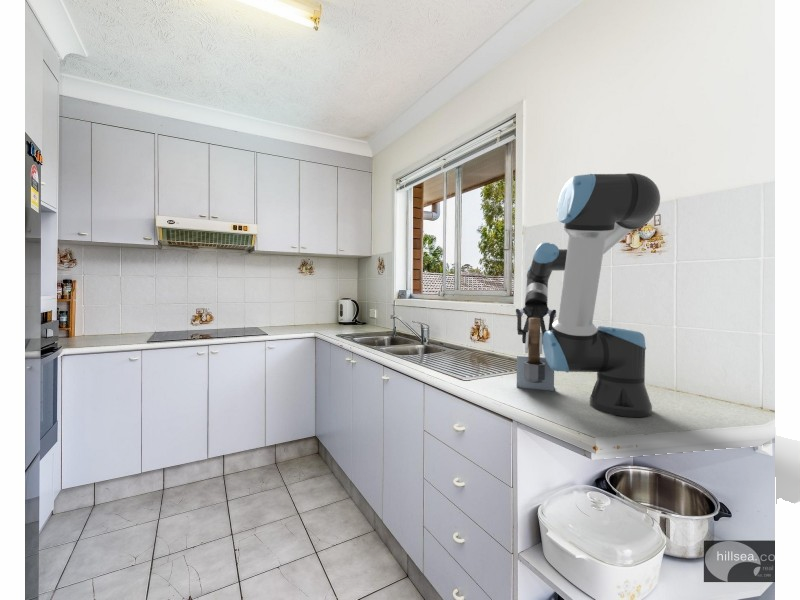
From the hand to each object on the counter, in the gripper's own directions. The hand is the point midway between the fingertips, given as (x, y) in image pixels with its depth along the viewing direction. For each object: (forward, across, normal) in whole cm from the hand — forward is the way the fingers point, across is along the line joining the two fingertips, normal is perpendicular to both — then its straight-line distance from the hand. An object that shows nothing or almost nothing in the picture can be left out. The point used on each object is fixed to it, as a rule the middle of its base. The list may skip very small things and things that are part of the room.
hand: (533, 350), depth 113 cm
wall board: (+3, 0, -18) cm, 18 cm away
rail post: (+1, 0, -7) cm, 7 cm away
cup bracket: (+4, 0, -10) cm, 11 cm away
